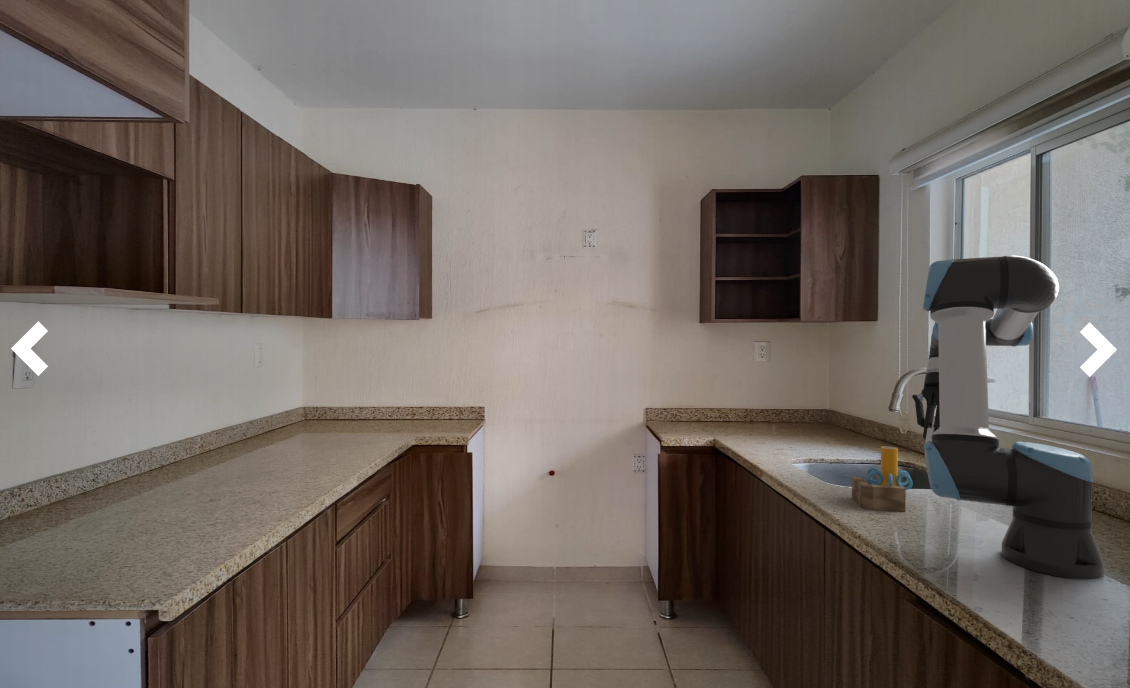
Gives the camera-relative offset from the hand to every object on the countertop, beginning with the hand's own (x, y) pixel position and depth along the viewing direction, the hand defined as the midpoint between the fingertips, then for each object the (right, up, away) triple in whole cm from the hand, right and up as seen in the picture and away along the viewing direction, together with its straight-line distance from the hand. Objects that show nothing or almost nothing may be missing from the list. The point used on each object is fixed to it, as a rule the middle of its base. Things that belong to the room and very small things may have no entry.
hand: (929, 450), depth 154 cm
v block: (-23, -13, -11) cm, 29 cm away
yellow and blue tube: (-16, -13, -7) cm, 22 cm away
